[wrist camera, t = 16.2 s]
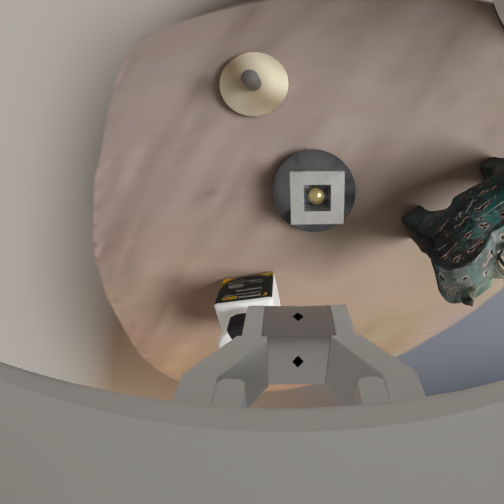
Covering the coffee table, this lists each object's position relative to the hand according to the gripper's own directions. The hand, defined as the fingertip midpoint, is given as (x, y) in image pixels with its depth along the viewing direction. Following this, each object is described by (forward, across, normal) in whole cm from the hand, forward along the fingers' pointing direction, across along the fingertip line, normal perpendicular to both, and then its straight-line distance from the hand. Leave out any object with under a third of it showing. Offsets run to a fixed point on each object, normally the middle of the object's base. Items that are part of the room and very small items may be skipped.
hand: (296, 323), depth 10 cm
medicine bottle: (+31, +5, +17) cm, 36 cm away
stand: (+31, +3, -11) cm, 33 cm away
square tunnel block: (+30, -3, +2) cm, 30 cm away
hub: (+31, -3, +2) cm, 31 cm away
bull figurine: (+31, -23, +2) cm, 39 cm away
